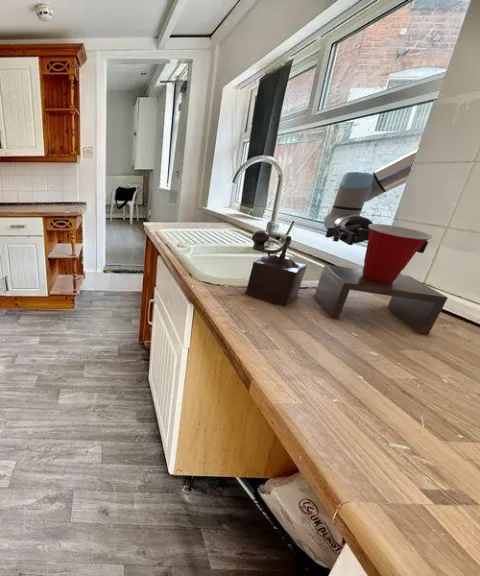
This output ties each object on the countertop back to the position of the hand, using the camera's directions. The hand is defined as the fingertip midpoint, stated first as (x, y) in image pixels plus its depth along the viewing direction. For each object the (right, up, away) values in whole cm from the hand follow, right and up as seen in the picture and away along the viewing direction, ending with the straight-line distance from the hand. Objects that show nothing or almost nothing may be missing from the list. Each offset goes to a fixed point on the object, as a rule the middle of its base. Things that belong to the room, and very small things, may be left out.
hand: (387, 243), depth 72 cm
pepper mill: (-23, -13, +10) cm, 28 cm away
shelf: (-2, -17, +4) cm, 17 cm away
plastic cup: (-2, -9, +1) cm, 9 cm away
